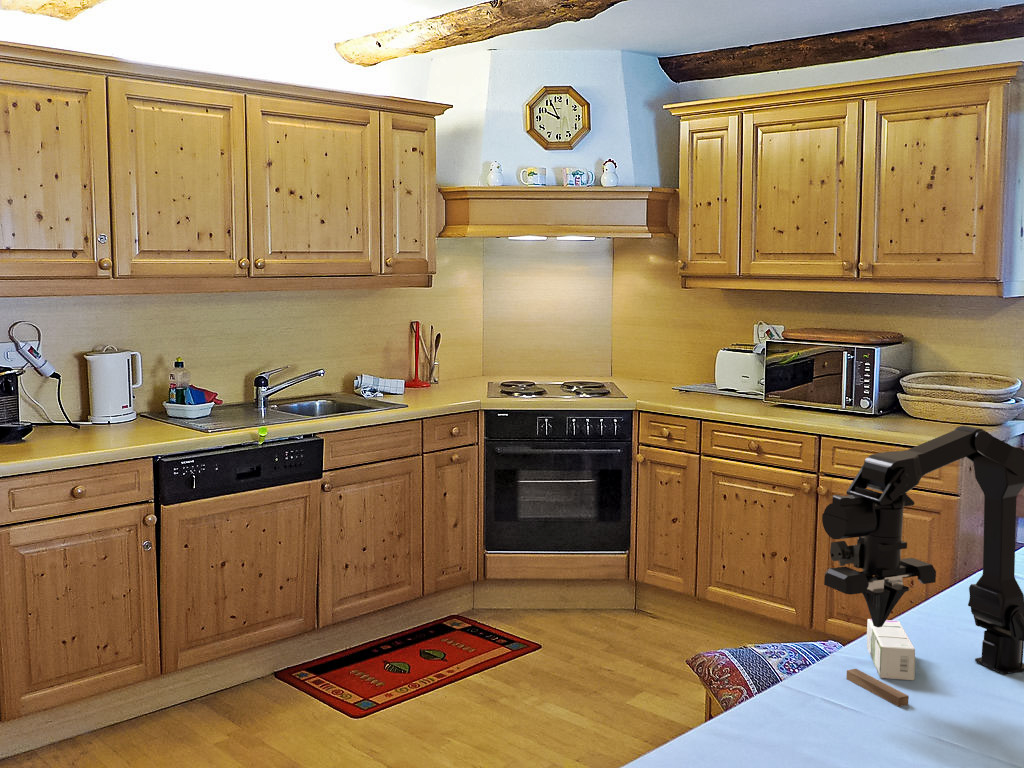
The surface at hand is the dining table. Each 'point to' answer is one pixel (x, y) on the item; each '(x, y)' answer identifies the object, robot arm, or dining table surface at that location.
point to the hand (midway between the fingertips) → (877, 626)
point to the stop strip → (877, 687)
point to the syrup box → (891, 650)
